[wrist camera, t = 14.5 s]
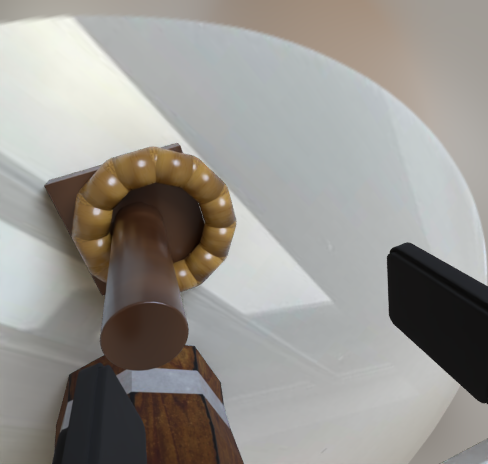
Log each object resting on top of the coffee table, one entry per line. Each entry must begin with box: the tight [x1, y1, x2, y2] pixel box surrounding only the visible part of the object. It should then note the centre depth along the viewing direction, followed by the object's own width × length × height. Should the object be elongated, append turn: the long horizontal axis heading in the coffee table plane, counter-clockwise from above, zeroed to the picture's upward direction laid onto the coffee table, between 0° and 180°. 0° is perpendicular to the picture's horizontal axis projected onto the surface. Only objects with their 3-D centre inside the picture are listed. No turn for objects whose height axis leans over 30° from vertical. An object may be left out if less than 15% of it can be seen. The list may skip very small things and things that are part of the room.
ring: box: [72, 147, 236, 292], centre depth 21 cm, size 10×10×2 cm
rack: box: [44, 143, 205, 371], centre depth 17 cm, size 8×8×12 cm
